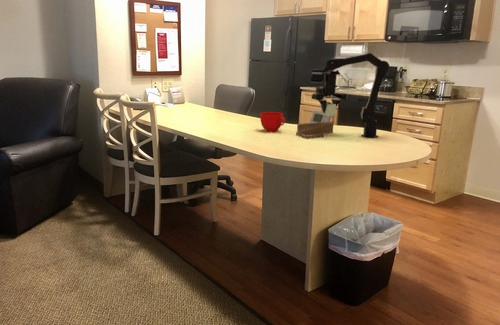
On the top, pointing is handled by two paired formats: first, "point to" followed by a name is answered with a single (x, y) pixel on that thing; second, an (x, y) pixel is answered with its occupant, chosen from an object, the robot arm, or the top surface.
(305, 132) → the wall board
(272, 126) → the ceramic cup
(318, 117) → the digital clock
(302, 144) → the top surface
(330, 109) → the cabinet block
